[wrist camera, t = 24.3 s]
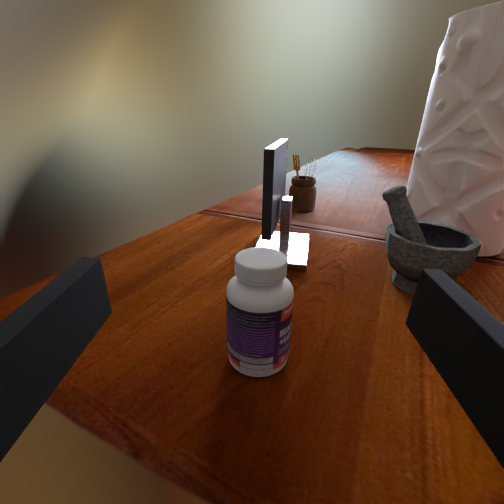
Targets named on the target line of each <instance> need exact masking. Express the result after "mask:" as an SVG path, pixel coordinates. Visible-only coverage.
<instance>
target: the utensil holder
mask: <svg viewBox="0 0 504 504" xmlns="http://www.w3.org/2000/svg"><path fill="white" fill-rule="evenodd" d="M297 157H298V164H297ZM310 159H311V158H310ZM295 160H296V165H295ZM315 161H316V160H315ZM293 163H294V169H295V170H296V172H297V176H295V177H293V178H292V181H291V182H292V184H293V185H291V187H290V190H289V196H291V197H293V200H292V211H295V212H311V211H313V210H314V207H315V200H316V187H315V186H314V185H315V184H316V179H315V178H314V177H312V176H311V177H310V176H307V175H306V176H299V174H298V171H299V170H300V162H299V156H295V157H294V155H293ZM310 164H311V163H310ZM306 166H308V165H306ZM311 166H312V165H311ZM309 168H310V167H309ZM313 168H314V167H313ZM314 169H316V168H314ZM310 171H311V170H310ZM305 173H307V170H306V171H305ZM313 173H314V172H313ZM308 174H309V173H308ZM309 175H310V174H309ZM311 175H314V174H311Z"/></svg>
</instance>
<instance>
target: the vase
mask: <svg viewBox="0 0 504 504" xmlns="http://www.w3.org/2000/svg"><path fill="white" fill-rule="evenodd" d="M406 196H407V199H408V201H409V203H410V206H411V208H412V210H413V212H414V215H415V217H416V219H417V221H424V222H429V223H435V224H440V225H446V226H451V227H454V228H456V229H459V230H462V231H464V232H467V233H470V234H472V235H474V236H475V237H476V239H477V240H478V241H479V242H480V243H481V244H482V245H481V248H480V251H479V253H478V256H484V257H486V256H493V255H497V254H499V253H501V252H502V248H503V247H504V1H500V2H495V3H491V4H487V5H483V6H480V7H476V8H473V9H468V10H466V11H463V12H460V13H458V14H456V15H454V16H452V17H450V18H449V26H448V30H447V34H446V36H445V39H444V41H443V43H442V45H441V47H440V49H439V51H438V55H437V59H436V68H435V72H434V75H433V77H432V81H431V85H430V90H429V94H428V98H427V102H426V107H425V111H424V115H423V120H422V124H421V128H420V133H419V137H418V142H417V146H416V150H415V154H414V158H413V163H412V167H411V171H410V176H409V180H408V184H407V193H406Z"/></svg>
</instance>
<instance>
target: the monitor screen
mask: <svg viewBox="0 0 504 504" xmlns="http://www.w3.org/2000/svg"><path fill="white" fill-rule="evenodd" d="M287 149H288V139H280V140H278V141H276V142H275V143H273V144H272V145H270V146H268V147H267V148H265V149H264V170H263V171H264V172H263V204H262V238H261V239H263V240H271V238H272V235H273V233H274V230H275V228H276V225H277V223H278V220H279V218H280V215H281V200H282V198H283V196H285V183H286V166H287Z"/></svg>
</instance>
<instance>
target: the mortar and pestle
mask: <svg viewBox="0 0 504 504" xmlns="http://www.w3.org/2000/svg"><path fill="white" fill-rule="evenodd" d="M406 193H407V189H406V187H405V186H396V187H393V188H390V189H388V190H387V191H385V192H384V193H383V194H382V196H383V199H384V200H385V201H386V202H387V205H388V208H389V211H390V215H391V218H392V222H393V224H391V225H388V227H387V232H386V243H385V247H386V253H387V257H388V260H389V263H390V265H391V267H392V268H393V269H394V271H393V274H392V282H393V284H394V285H395V286H397V287H398V288H399V289H401V290H402V291H404V292H407V293H410V294H413V295H414V294H415V291H416V288H417V284H418V281H419V278H420V274H421V271H422V269H435V270H442V271H443V272H444V273H446V274H447V275H448V276H449V277H450V278H451V279H452V280H453V279H455V278H457V277H458V276H460V275H461V274H462V273H464V272H465V271H466V270H467V269H469V268H470V267H471V266H472V264H473V262H474V261H475V259H476V257H477V256H478V253H479V251H480V248H481V245H482V244H481V243H480V242H479V241H478V240H477V239H476V237H475V236H474V235H472V234H470V233H467V232H464V231H462V230H459V229H456V228H454V227H451V226H446V225H440V224H435V223H429V222H424V221H417V219H416V217H415V215H414V212H413V210H412V208H411V206H410V203H409V201H408V199H407V196H406Z"/></svg>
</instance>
